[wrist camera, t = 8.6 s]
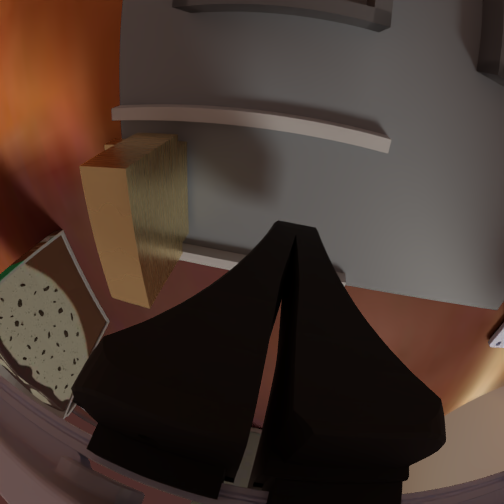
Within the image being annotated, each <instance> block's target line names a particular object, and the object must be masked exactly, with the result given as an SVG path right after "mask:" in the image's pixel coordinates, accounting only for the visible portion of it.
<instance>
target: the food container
mask: <svg viewBox="0 0 504 504" xmlns="http://www.w3.org/2000/svg"><path fill="white" fill-rule="evenodd" d="M109 322H110V321H109V320H108V318H107V316H106V315H105V313H104V311H103V309H102V308H101V306H100V304H99V302H98V300H97V299H96V297H95V295H94V293H93V291H92V289H91V288H90V286H89V284H88V282H87V280H86V278H85V276H84V274H83V272H82V270H81V268H80V266H79V264H78V262H77V260H76V258H75V256H74V253H73V251H72V249H71V247H70V245H69V243H68V240H67V238H66V236H65V233H64V231H63V230H59V231H54V232H53V233H51V234H50V235H48V236H47V237H46V238H44V239H43V240H42V241H40V242H39V243H38V244H37V245H35V246H34V247H33V248H31V249H30V250H29V251H28V252H26V253H25V254H24V255H23V256H21V257H20V258H19V259H18V260H16V261H15V262H14V263H13V264H12V265H10V266H9V267H8V268H7V269H6V270H5V271H3V272H2V273H1V274H0V375H1V376H2V377H3V378H5V379H6V380H7V381H8V382H10V383H11V384H12V385H13V386H15V387H16V388H17V389H19V390H20V391H21V392H23V393H24V394H26V395H27V396H28V397H30V398H31V399H33V400H34V401H36V402H37V403H39V404H40V405H42V406H43V407H45V408H46V409H48V410H49V411H51V412H52V413H54V414H56V415H57V416H59V417H60V418H62V419H65V417H66V416H67V417H68V416H69V414H70V413H71V412H72V410H73V409H74V407H75V406H76V403H74V402H72V400H73V398H74V396H73V393H72V390H71V387H72V386H73V384H74V382H75V380H76V378H77V377H78V375H79V373H80V371H81V370H82V368H83V366H84V364H85V363H86V361H87V359H88V358H89V356H90V354H91V353H92V351H93V350H94V349H95V347H96V346H97V345H98V343H99V341H100V339H101V337H102V335H103V334H104V332H105V330H106V328H107V326H108V324H109Z"/></svg>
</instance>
